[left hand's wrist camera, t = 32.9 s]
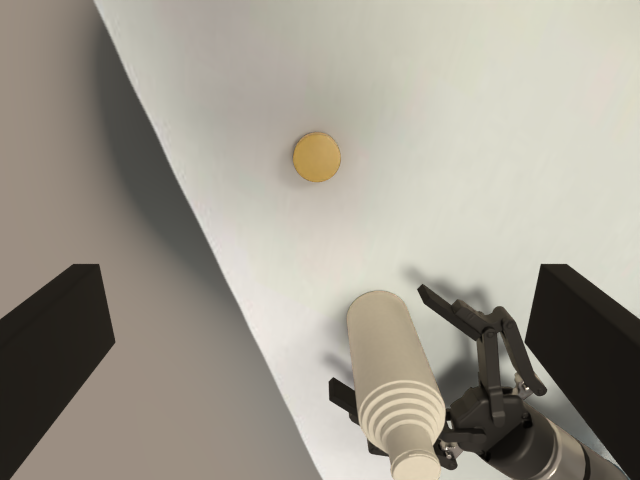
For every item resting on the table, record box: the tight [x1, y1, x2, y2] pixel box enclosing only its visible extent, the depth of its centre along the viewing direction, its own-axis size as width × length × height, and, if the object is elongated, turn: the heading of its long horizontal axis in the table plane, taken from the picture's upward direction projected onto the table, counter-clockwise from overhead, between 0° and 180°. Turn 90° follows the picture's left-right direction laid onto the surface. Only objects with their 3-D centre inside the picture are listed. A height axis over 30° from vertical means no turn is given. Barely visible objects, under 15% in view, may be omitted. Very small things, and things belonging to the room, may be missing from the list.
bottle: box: [347, 291, 446, 480], centre depth 37 cm, size 7×7×20 cm
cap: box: [293, 132, 341, 182], centre depth 39 cm, size 4×4×2 cm
